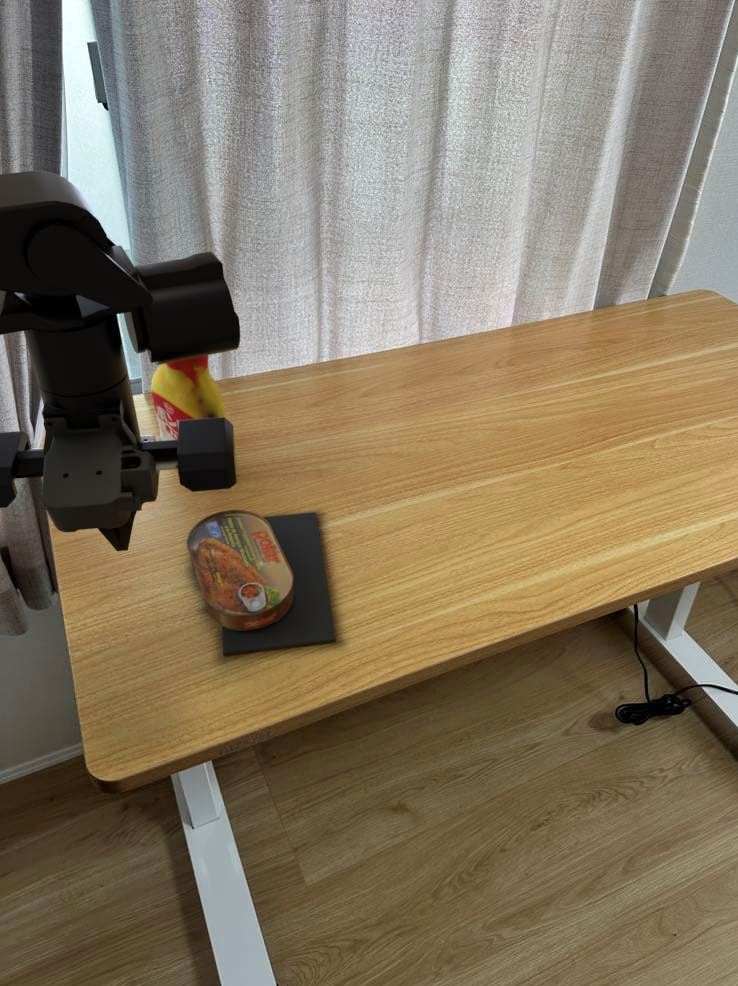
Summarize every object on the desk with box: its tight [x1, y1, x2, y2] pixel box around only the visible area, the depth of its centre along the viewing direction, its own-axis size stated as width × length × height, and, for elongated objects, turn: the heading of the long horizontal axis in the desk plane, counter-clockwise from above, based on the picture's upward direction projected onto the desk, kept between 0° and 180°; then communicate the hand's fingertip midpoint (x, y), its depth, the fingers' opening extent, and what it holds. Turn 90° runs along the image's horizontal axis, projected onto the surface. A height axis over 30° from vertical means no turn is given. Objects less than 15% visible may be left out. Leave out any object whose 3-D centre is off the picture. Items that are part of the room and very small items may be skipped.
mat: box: [222, 511, 337, 656], centre depth 79 cm, size 10×18×1 cm, turn 11°
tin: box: [185, 509, 294, 631], centre depth 78 cm, size 15×3×8 cm
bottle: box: [150, 355, 227, 441], centre depth 88 cm, size 12×6×20 cm, turn 37°
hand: (123, 547), depth 63 cm, fingers closed
